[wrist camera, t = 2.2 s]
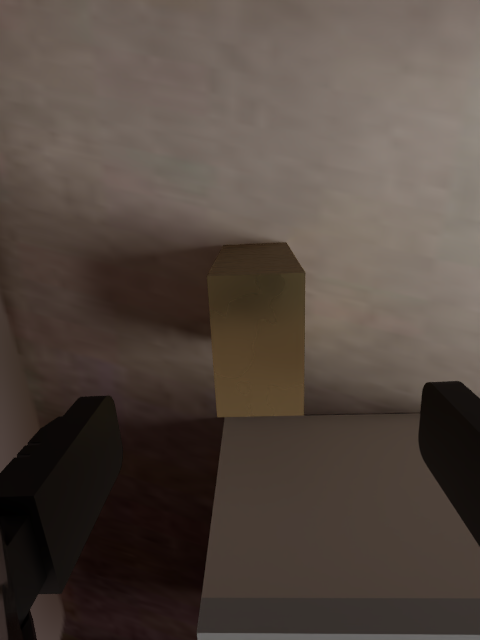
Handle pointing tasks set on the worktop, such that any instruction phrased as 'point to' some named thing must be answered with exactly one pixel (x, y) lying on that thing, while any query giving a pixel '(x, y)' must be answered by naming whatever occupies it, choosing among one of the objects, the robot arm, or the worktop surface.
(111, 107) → the worktop surface
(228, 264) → the tall khaki box
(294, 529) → the grey box with opening
